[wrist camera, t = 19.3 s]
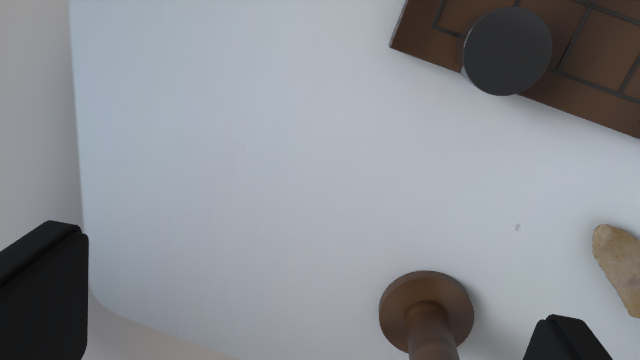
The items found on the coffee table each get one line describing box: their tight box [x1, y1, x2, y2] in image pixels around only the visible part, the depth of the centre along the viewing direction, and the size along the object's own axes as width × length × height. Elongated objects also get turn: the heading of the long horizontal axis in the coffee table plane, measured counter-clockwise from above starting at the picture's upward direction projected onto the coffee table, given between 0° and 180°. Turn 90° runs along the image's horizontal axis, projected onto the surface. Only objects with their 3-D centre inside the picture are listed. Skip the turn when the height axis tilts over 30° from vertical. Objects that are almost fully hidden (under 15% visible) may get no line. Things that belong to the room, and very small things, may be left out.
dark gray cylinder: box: [455, 6, 552, 96], centre depth 28 cm, size 5×5×2 cm
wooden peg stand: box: [379, 271, 474, 360], centre depth 32 cm, size 7×7×11 cm
